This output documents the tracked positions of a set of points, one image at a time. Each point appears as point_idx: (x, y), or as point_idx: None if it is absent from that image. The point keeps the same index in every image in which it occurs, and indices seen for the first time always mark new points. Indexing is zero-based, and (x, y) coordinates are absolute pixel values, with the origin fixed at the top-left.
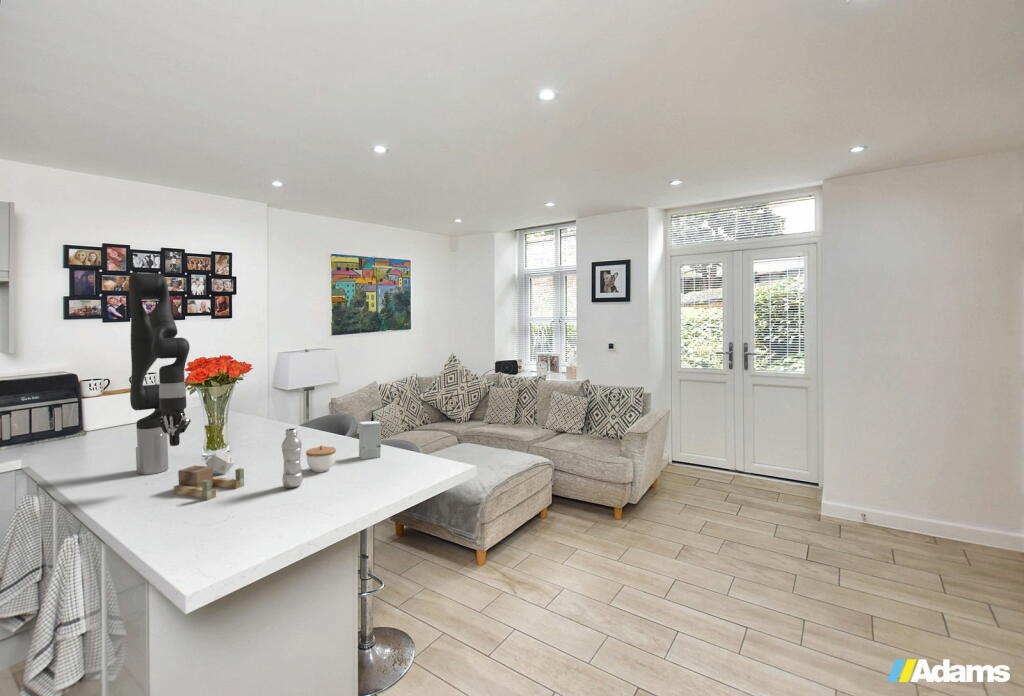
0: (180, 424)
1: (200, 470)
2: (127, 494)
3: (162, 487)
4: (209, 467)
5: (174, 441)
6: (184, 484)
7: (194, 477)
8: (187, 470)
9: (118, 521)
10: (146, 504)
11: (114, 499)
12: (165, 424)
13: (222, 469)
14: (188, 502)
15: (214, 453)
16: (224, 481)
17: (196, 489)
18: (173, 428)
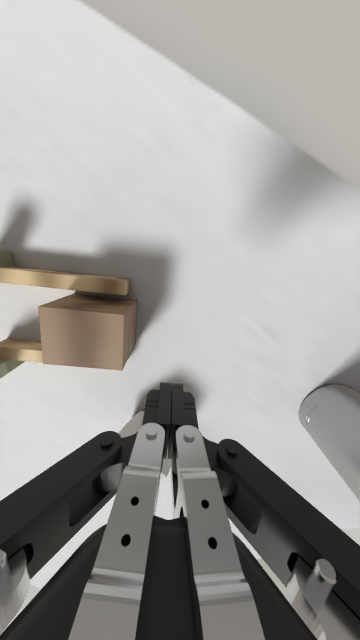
0: (7, 524)
1: (48, 327)
2: (250, 253)
3: (204, 315)
4: (50, 359)
5: (155, 400)
6: (112, 302)
7: (59, 303)
8: (92, 320)
9: (75, 45)
10: (128, 193)
11: (252, 212)
12: (224, 513)
13: (128, 422)
14: (29, 228)
15: (166, 471)
16: (36, 348)
17: (36, 271)
18: (124, 470)
